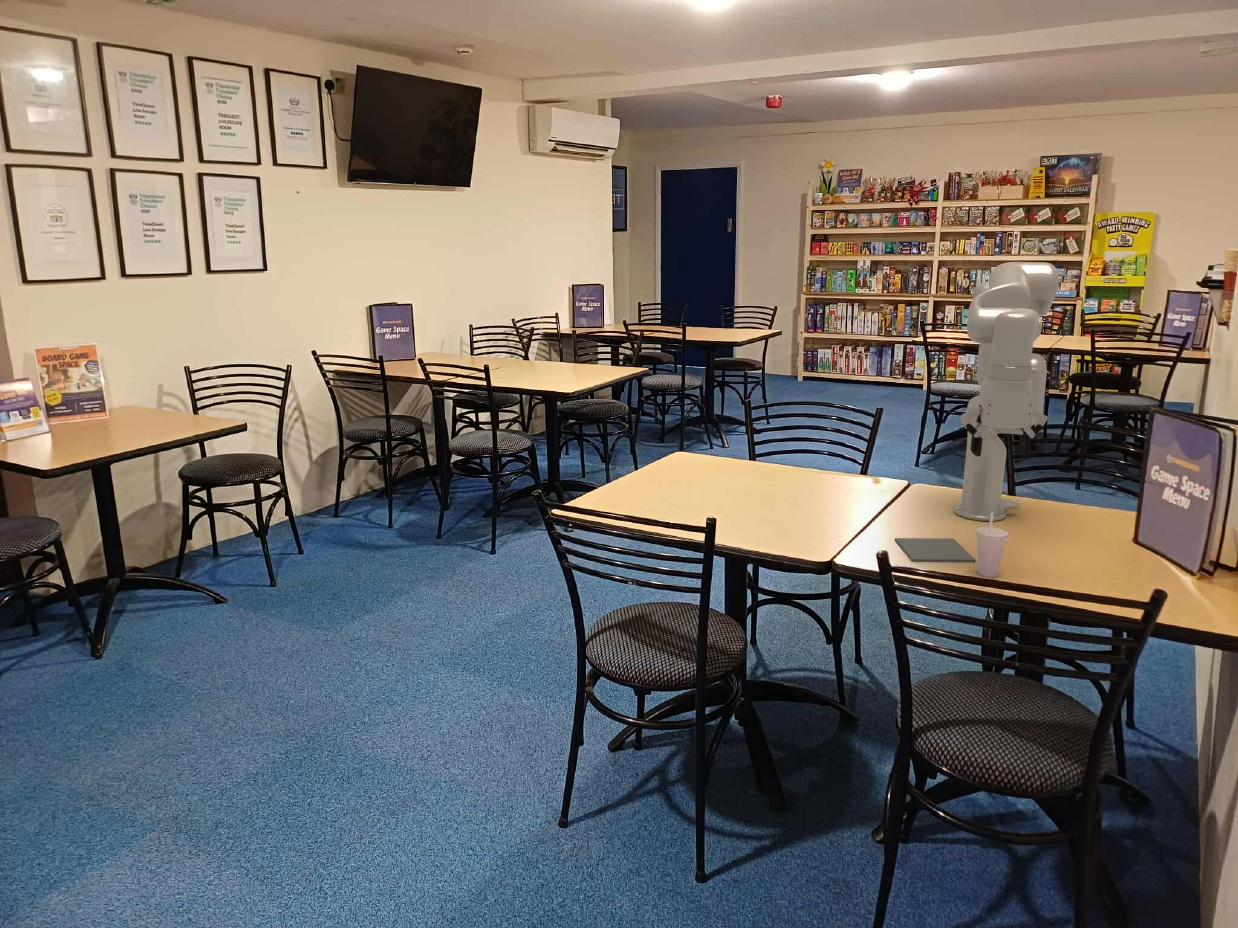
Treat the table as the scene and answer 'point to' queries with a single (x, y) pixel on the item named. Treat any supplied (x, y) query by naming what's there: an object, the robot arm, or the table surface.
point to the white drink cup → (990, 548)
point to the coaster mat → (934, 550)
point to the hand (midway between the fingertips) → (999, 455)
